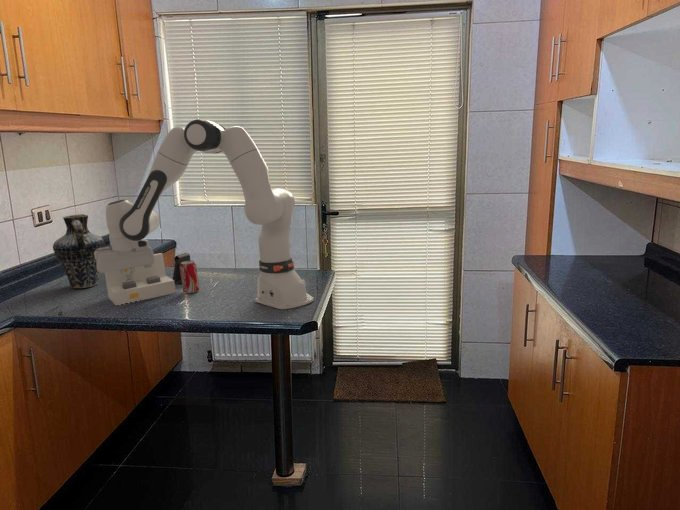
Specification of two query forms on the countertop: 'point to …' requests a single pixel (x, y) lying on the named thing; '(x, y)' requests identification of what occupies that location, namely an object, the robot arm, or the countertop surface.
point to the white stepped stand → (140, 283)
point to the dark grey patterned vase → (78, 252)
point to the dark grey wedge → (178, 261)
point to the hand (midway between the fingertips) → (128, 279)
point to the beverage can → (189, 277)
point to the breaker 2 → (153, 279)
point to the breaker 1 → (129, 284)
